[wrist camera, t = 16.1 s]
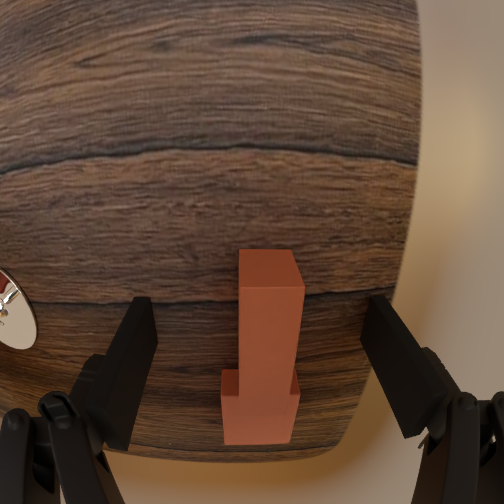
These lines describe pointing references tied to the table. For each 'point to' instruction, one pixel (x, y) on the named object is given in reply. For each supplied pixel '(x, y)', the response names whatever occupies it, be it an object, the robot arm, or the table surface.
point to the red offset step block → (264, 350)
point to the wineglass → (15, 315)
